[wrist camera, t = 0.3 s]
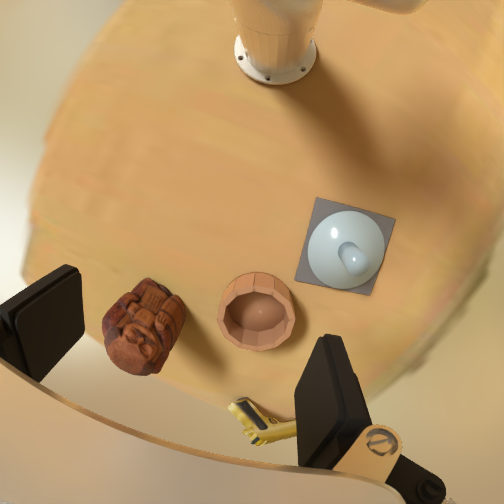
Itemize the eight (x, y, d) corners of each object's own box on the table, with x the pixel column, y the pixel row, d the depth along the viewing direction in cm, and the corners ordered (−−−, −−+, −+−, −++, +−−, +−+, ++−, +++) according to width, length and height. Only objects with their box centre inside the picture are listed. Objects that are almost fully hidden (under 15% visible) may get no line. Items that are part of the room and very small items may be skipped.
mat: (316, 197, 42) (316, 197, 42) (394, 219, 42) (395, 219, 42) (294, 279, 47) (294, 280, 46) (368, 294, 47) (369, 295, 46)
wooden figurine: (197, 309, 50) (166, 375, 33) (179, 330, 52) (147, 395, 35) (145, 269, 48) (93, 320, 31) (130, 293, 50) (81, 346, 33)
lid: (318, 201, 42) (327, 209, 35) (391, 221, 42) (410, 232, 35) (298, 278, 46) (302, 297, 40) (368, 292, 46) (380, 312, 40)
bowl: (229, 265, 47) (224, 278, 42) (300, 280, 47) (303, 295, 42) (218, 324, 51) (213, 342, 45) (282, 337, 51) (283, 356, 45)
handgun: (230, 398, 54) (253, 444, 45) (293, 391, 65) (316, 428, 56) (225, 404, 55) (247, 449, 46) (287, 397, 66) (310, 433, 56)
